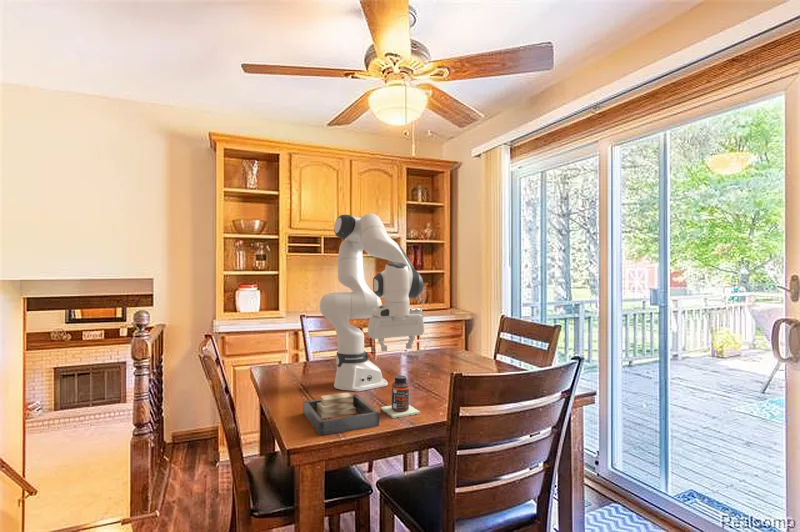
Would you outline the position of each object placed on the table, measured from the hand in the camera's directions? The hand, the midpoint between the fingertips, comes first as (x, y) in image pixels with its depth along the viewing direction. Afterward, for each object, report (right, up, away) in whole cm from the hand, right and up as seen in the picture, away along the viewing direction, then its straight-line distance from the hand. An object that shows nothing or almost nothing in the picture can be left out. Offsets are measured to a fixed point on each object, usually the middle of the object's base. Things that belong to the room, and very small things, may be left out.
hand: (396, 349), depth 147 cm
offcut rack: (-19, -21, -7) cm, 29 cm away
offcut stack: (-21, -22, -2) cm, 30 cm away
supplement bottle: (+1, -21, 0) cm, 21 cm away
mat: (+1, -21, 0) cm, 21 cm away
